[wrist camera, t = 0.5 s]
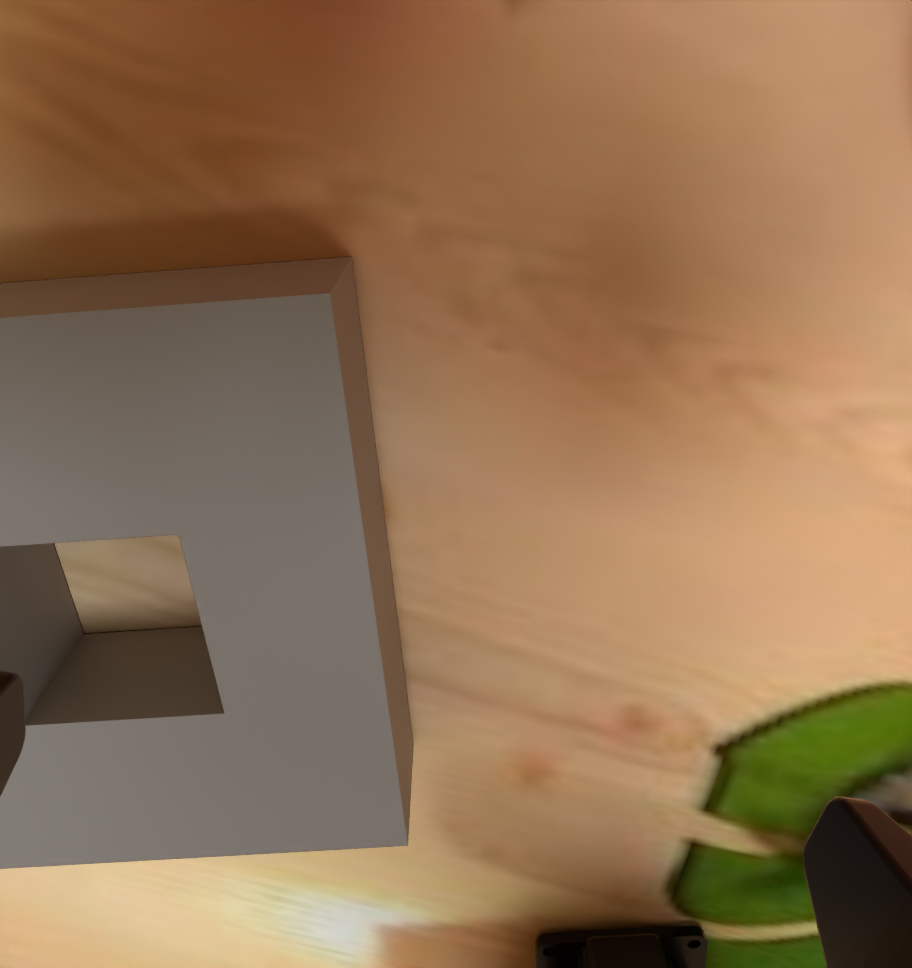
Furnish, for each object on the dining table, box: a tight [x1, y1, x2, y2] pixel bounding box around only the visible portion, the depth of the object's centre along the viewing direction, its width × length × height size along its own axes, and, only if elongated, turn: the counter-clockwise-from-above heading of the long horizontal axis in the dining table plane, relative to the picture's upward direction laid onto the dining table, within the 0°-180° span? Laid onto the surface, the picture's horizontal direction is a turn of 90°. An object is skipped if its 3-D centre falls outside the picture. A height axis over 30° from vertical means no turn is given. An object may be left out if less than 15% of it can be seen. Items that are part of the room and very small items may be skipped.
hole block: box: [0, 257, 413, 869], centre depth 22 cm, size 16×14×4 cm
